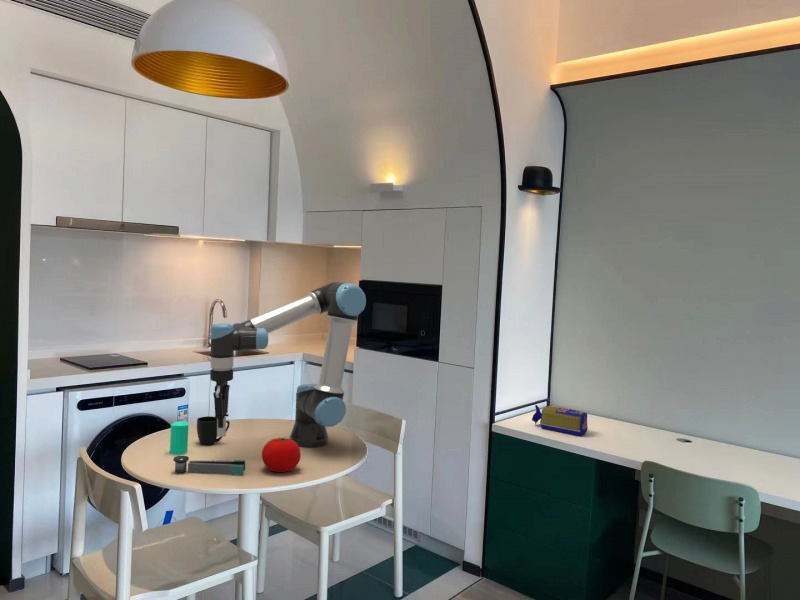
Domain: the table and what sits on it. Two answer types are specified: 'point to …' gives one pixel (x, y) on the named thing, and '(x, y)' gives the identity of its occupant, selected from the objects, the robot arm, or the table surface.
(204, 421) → the mug
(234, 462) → the bar
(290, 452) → the tomato
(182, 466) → the tongs fixed
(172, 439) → the candle
